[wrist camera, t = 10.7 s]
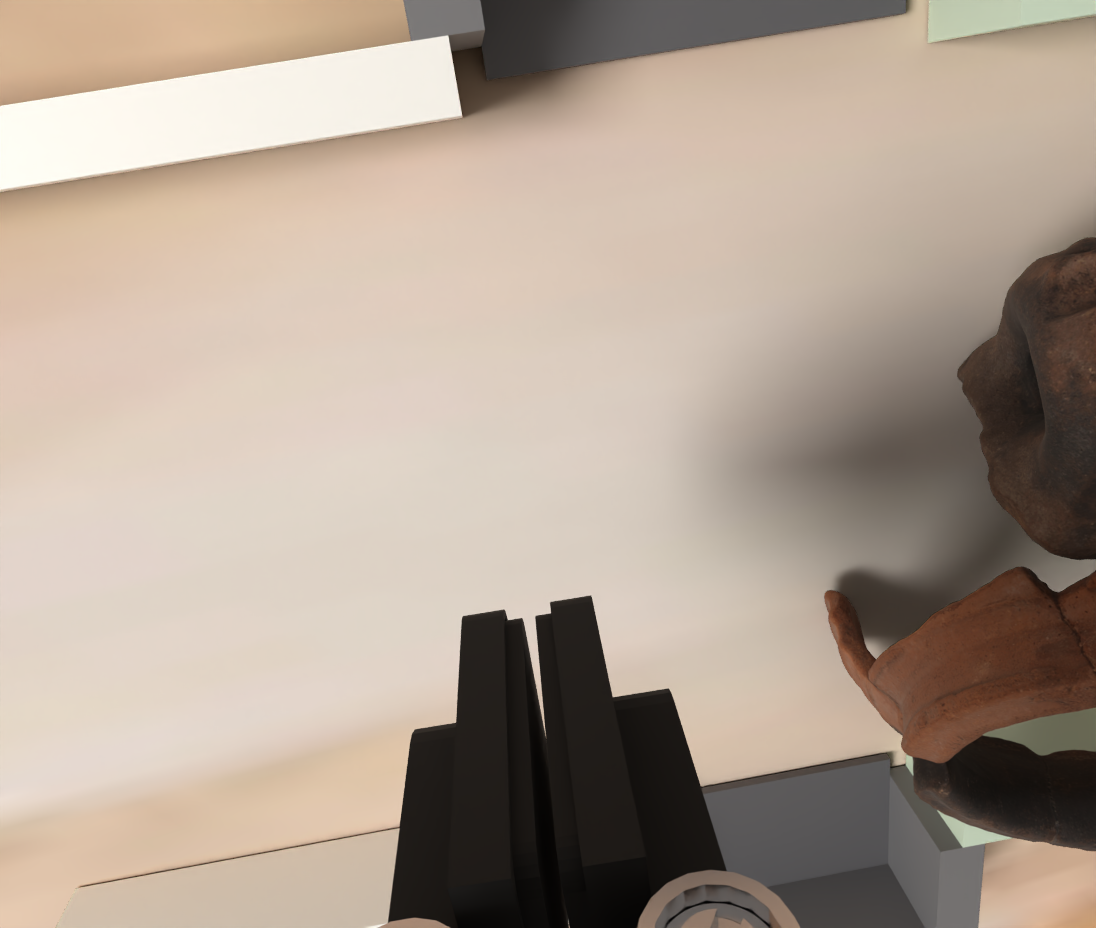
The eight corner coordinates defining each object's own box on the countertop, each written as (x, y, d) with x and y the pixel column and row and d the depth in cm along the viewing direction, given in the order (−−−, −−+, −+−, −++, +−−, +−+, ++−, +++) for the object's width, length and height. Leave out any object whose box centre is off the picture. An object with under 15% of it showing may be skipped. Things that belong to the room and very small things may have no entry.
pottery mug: (1297, 496, 19) (1509, 880, 14) (874, 568, 24) (908, 876, 18) (1307, 0, 12) (1760, 393, 7) (701, 243, 16) (675, 589, 11)
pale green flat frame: (1491, -418, 12) (1732, -545, 10) (1210, 821, 22) (1298, 903, 20) (-458, -132, 11) (-693, -199, 9) (147, 1025, 21) (108, 1136, 19)
